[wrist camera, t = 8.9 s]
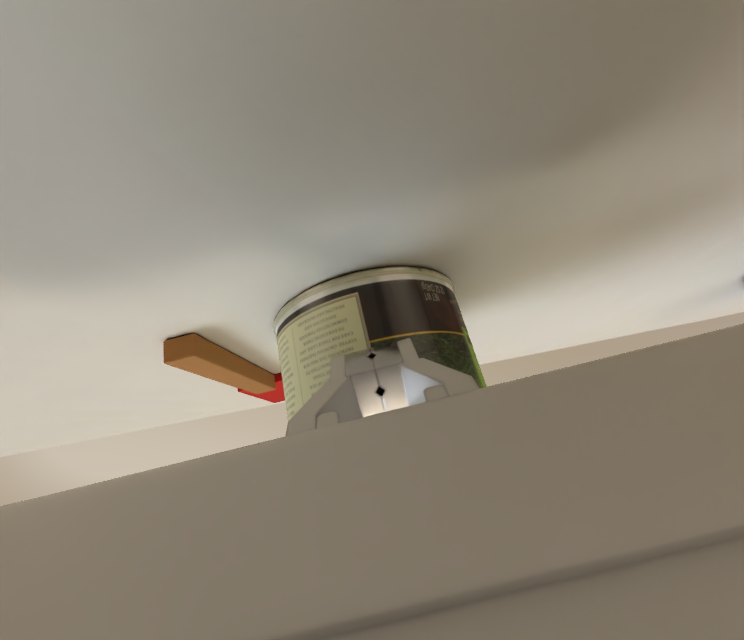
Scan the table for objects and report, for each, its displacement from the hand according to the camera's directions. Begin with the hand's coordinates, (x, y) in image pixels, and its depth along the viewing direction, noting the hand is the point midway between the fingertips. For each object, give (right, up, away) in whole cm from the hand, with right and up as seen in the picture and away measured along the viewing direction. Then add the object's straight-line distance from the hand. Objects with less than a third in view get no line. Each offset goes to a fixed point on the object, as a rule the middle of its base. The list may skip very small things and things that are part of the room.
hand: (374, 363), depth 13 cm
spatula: (-9, -2, +13) cm, 16 cm away
